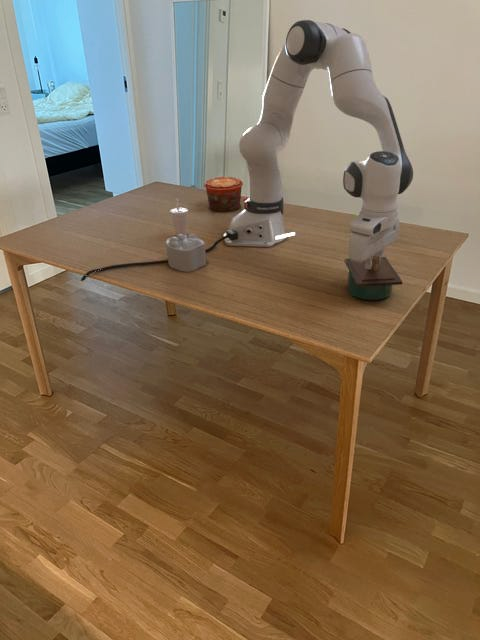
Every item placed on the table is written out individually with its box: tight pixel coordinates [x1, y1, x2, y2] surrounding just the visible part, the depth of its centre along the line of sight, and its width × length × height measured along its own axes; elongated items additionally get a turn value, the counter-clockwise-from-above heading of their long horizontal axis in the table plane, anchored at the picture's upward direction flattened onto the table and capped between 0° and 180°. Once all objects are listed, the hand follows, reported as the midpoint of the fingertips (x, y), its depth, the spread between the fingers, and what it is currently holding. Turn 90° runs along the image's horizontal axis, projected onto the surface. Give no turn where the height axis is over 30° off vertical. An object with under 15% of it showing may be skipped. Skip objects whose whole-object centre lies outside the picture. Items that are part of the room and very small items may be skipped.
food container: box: [203, 176, 244, 213], centre depth 204 cm, size 16×16×11 cm
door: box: [343, 255, 403, 286], centre depth 136 cm, size 12×16×4 cm
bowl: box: [346, 270, 393, 301], centre depth 139 cm, size 12×12×6 cm
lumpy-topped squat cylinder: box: [165, 233, 207, 273], centre depth 159 cm, size 10×13×9 cm
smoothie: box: [169, 198, 189, 236], centre depth 178 cm, size 6×6×14 cm
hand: (372, 265), depth 136 cm, fingers closed on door, 2 cm apart
